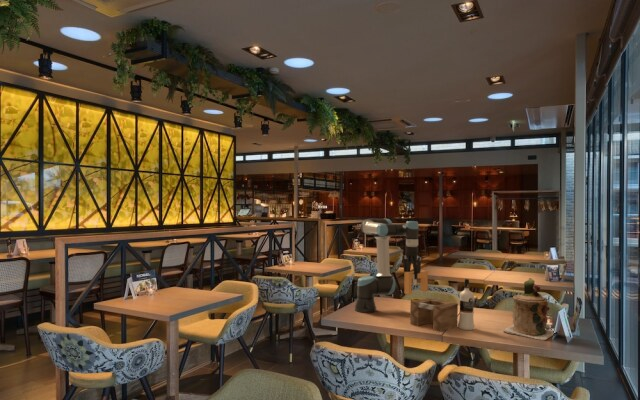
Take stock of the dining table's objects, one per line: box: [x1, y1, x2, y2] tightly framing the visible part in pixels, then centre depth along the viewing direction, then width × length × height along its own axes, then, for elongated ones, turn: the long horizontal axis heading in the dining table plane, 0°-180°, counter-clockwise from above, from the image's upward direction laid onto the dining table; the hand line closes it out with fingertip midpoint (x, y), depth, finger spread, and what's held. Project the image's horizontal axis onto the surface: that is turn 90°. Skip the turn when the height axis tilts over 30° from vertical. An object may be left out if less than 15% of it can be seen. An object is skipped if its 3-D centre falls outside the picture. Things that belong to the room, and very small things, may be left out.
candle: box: [409, 297, 422, 316], centre depth 315 cm, size 10×10×10 cm
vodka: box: [457, 278, 475, 331], centre depth 280 cm, size 9×9×30 cm
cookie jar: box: [502, 277, 555, 341], centre depth 273 cm, size 25×25×32 cm
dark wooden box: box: [410, 297, 459, 333], centre depth 286 cm, size 22×18×14 cm
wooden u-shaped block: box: [403, 269, 429, 295], centre depth 287 cm, size 4×19×13 cm, turn 132°
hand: (411, 284), depth 284 cm, fingers closed on wooden u-shaped block, 3 cm apart
